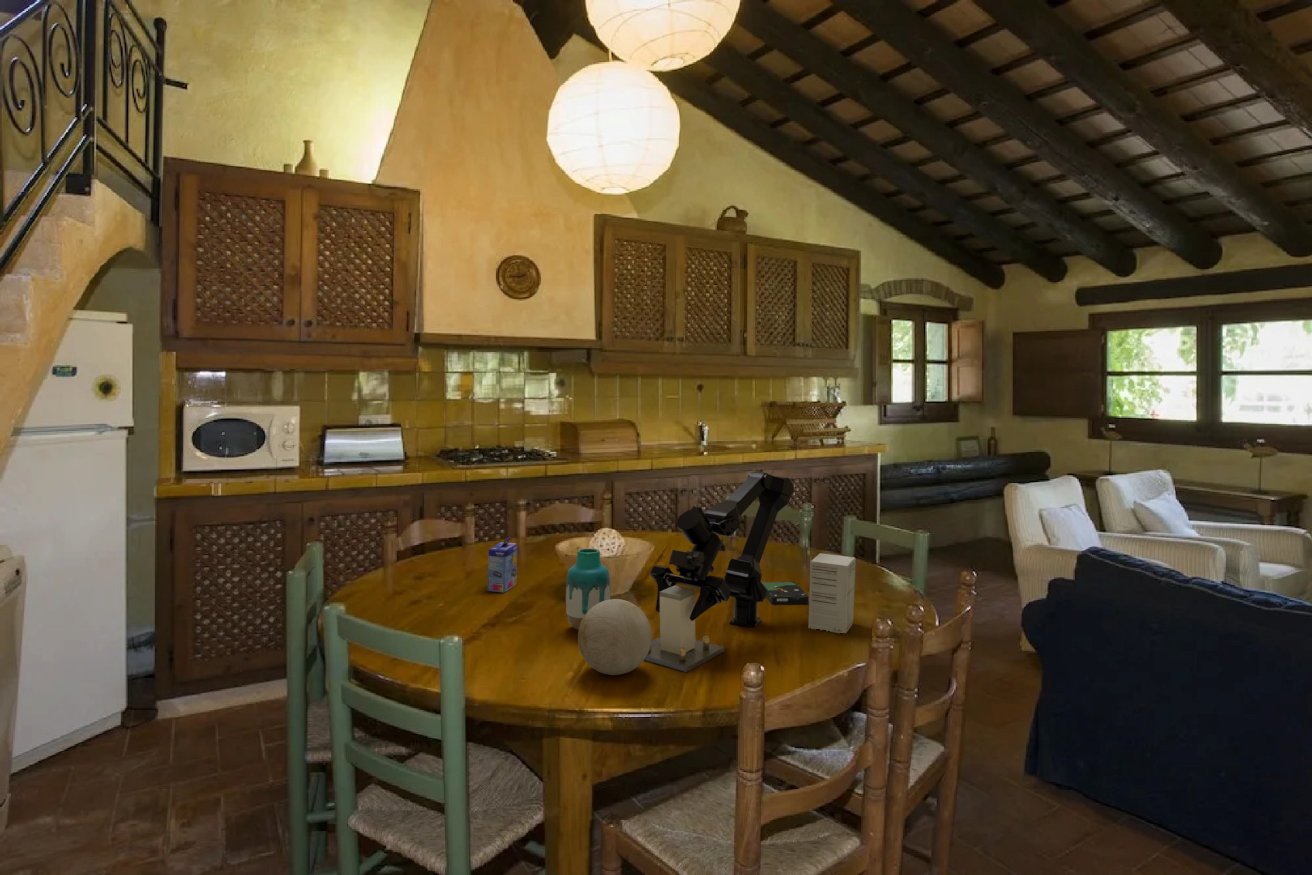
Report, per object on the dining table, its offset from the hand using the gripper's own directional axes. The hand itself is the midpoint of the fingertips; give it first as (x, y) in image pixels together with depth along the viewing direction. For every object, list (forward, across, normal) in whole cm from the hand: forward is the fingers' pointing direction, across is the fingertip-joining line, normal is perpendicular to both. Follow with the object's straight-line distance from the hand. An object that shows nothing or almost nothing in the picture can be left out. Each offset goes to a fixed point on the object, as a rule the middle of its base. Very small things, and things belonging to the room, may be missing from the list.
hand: (673, 615), depth 164 cm
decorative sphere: (+17, -4, -4) cm, 18 cm away
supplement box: (-22, +19, +35) cm, 45 cm away
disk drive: (-32, -1, +46) cm, 56 cm away
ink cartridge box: (-2, -68, +15) cm, 69 cm away
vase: (+6, -26, +7) cm, 27 cm away
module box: (+4, 0, +7) cm, 8 cm away
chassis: (+5, 0, +7) cm, 9 cm away
